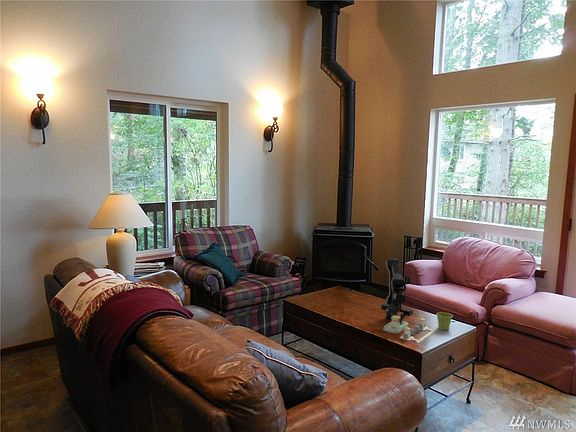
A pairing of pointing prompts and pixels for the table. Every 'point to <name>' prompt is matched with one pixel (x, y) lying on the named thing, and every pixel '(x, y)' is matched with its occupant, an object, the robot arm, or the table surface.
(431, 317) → the table surface
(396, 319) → the block
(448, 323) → the plant pot
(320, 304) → the table surface
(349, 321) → the table surface
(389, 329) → the tray
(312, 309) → the table surface
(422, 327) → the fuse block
